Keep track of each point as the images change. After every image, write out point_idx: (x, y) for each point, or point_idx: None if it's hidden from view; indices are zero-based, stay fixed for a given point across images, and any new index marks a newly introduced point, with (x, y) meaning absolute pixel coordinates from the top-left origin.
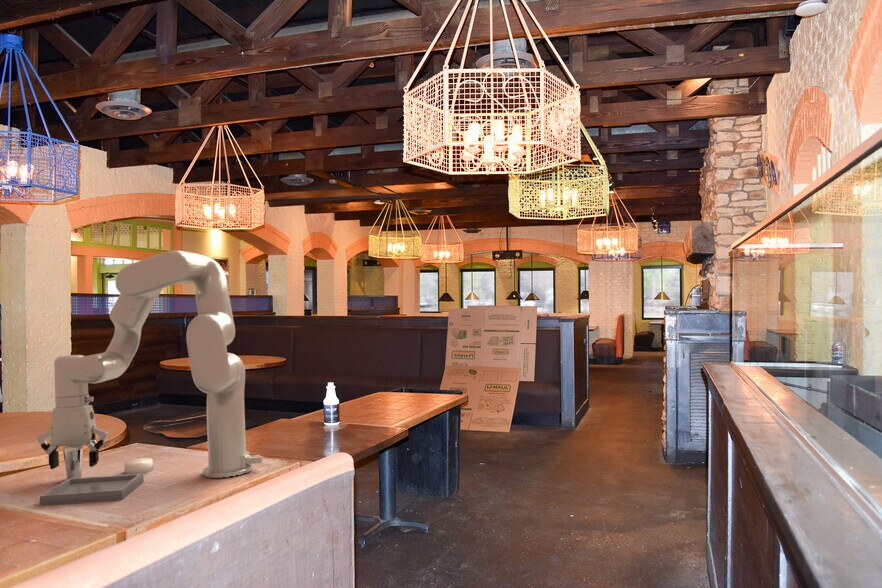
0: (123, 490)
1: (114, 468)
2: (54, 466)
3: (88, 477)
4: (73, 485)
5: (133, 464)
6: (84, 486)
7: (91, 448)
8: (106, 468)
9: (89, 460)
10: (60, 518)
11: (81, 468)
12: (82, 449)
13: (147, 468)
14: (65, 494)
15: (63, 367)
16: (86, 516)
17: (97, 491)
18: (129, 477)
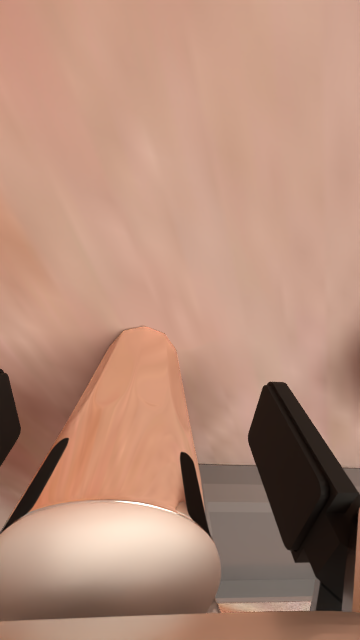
0: None
1: (338, 184)
2: (12, 430)
3: (259, 505)
4: (209, 512)
5: None
6: (252, 526)
7: (329, 601)
8: (283, 156)
9: (261, 476)
10: (238, 610)
11: (181, 380)
12: (212, 530)
13: None
14: (228, 602)
15: None
16: (284, 609)
17: (309, 598)
18: None
